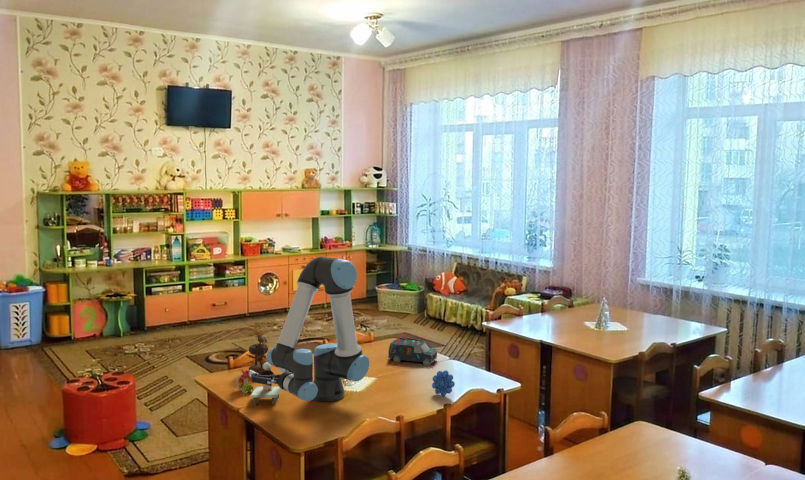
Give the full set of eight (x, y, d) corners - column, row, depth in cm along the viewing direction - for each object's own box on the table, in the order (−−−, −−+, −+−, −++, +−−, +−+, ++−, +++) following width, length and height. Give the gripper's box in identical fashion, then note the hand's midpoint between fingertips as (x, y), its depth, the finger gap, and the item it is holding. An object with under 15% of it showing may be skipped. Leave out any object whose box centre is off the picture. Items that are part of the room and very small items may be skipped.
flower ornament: (234, 397, 296) (246, 393, 291) (227, 373, 297) (239, 369, 292) (245, 393, 301) (257, 389, 296) (238, 370, 302) (250, 365, 297)
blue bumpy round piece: (459, 396, 294) (459, 369, 293) (451, 400, 289) (451, 373, 287) (437, 390, 301) (437, 365, 300) (429, 394, 296) (429, 368, 294)
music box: (278, 373, 323) (275, 334, 319) (261, 381, 314) (257, 341, 310) (257, 367, 332) (253, 329, 328) (240, 374, 323) (236, 335, 319)
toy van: (432, 366, 337) (433, 347, 336) (387, 361, 345) (387, 342, 344) (438, 360, 347) (438, 341, 346) (393, 355, 355) (393, 337, 354)
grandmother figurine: (271, 387, 290) (272, 359, 288) (276, 390, 287) (276, 362, 285) (256, 391, 285) (256, 363, 283) (260, 394, 282) (260, 365, 280)
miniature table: (280, 396, 292) (280, 386, 291) (277, 405, 281) (277, 395, 280) (255, 396, 292) (255, 386, 291) (251, 405, 281) (250, 395, 280)
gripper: (263, 398, 262) (238, 384, 277) (316, 385, 278) (289, 372, 294) (262, 380, 261) (237, 367, 277) (316, 367, 277) (289, 356, 293)
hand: (264, 369), depth 285 cm, fingers open, 13 cm apart
